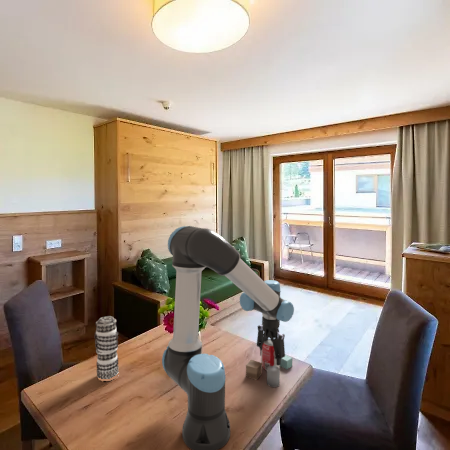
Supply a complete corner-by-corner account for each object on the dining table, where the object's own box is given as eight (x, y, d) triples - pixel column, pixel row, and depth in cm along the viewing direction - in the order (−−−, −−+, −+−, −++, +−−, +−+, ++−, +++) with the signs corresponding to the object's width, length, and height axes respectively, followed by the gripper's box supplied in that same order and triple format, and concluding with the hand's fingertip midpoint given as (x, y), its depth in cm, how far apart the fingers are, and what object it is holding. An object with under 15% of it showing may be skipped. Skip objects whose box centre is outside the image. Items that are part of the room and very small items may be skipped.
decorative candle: (91, 381, 123) (88, 321, 120) (105, 368, 132) (103, 313, 129) (110, 384, 120) (108, 324, 118) (123, 371, 129) (122, 315, 127)
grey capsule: (273, 388, 118) (273, 374, 117) (264, 382, 122) (264, 368, 121) (282, 384, 121) (282, 369, 120) (272, 378, 125) (272, 364, 124)
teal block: (286, 369, 131) (287, 361, 131) (275, 364, 136) (276, 355, 135) (292, 366, 134) (292, 357, 134) (281, 361, 138) (281, 352, 138)
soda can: (277, 364, 135) (278, 338, 134) (278, 373, 128) (279, 346, 127) (261, 363, 136) (262, 338, 135) (262, 372, 129) (262, 345, 128)
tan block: (256, 380, 124) (256, 368, 123) (245, 376, 126) (246, 365, 126) (261, 374, 128) (261, 362, 127) (251, 370, 130) (251, 359, 130)
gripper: (295, 321, 125) (293, 374, 127) (260, 308, 140) (259, 355, 142) (283, 326, 120) (282, 381, 122) (248, 311, 135) (248, 360, 137)
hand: (270, 367), depth 132 cm, fingers closed on soda can, 7 cm apart
